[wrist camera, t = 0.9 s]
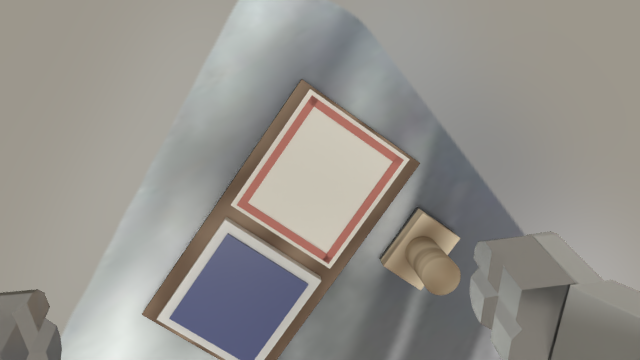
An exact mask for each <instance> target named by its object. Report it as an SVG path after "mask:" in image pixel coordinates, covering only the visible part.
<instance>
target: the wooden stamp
mask: <svg viewBox="0 0 640 360" xmlns="http://www.w3.org/2000/svg"><path fill="white" fill-rule="evenodd" d="M459 239H460V238H459V237H458V236H457V235H456V234H455V233H454V232H453V231H451V230H450V229H448V228H447V227H445V226H444V225H442V224H441V223H440V222H438V221H437V220H435V219H434V218H432V217H431V216H429V215H428V214H427V213H425V212H424V211H422V210H421V209H419V208H418V207H417V208H416V210H415V211H414V212H413V214H412V215H411V216H410V218H409V219H408V221H407V222H406V223H405V225H404V226H403V227H402V229H401V230H400V231H399V233H398V234H397V235H396V237H395V238H394V239H393V241H392V242H391V244H390V245H389V246H388V248H387V249H386V250H385V252H384V253H383V254H382V256H381V257H380V260H381V262H382V264H383V266H384V267H386V268H387V269H389V270H390V271H392V272H393V273H395V274H396V275H398V276H399V277H401V278H402V279H404V280H406V281H407V282H409V283H410V284H412V285H413V286H415V287H416V288H418V289H419V290H421V289H422V288H423V287H424V286H425V287H426V288H427V290H428V291H430V292H431V293H433V294H436V295H445V294H448V293H450V292H452V291H453V290H454V289H455V288H456V287H457V286H458V284H459V282H460V276H461V275H460V270H459V268H458V266H457V265H456V264H455V263H454V262H453V261H452V260H451V259H450V258H449V256H448V254H449V253H450V251H451V250H452V249H453V247H454V246H455V245H456V243H457V242H458V241H459Z"/></svg>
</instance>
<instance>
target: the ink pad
mask: <svg viewBox="0 0 640 360" xmlns="http://www.w3.org/2000/svg"><path fill="white" fill-rule="evenodd" d="M320 282H321V277H320V276H319V275H317V274H316V273H314V272H313V271H311V270H309V269H308V268H306V267H305V266H303V265H302V264H300V263H298V262H297V261H295V260H294V259H292V258H291V257H289V256H287V255H286V254H284V253H283V252H281V251H280V250H278V249H276V248H275V247H273V246H272V245H270V244H268V243H267V242H265V241H264V240H262V239H261V238H259V237H257V236H256V235H254V234H253V233H251V232H250V231H248V230H246V229H245V228H243V227H242V226H240V225H239V224H237V223H235V222H234V221H232V220H231V219H229V218H228V217H226V218H225V219H224V220H223V222H222V223H221V225H220V226H219V228H218V229H217V231H216V232H215V234H214V235H213V237H212V238H211V239H210V241H209V242H208V244H207V245H206V247H205V248H204V250H203V251H202V253H201V254H200V255H199V257H198V258H197V260H196V261H195V263H194V264H193V266H192V267H191V269H190V270H189V272H188V273H187V274H186V276H185V277H184V279H183V280H182V282H181V283H180V285H179V286H178V288H177V289H176V291H175V292H174V293H173V295H172V296H171V298H170V299H169V301H168V302H167V304H166V305H165V307H164V308H163V309H162V311H161V312H160V314H159V316H158V318H157V319H156V320H158V321H160V322H162V323H163V324H165V325H167V326H168V327H170V328H172V329H174V330H175V331H177V332H179V333H180V334H182V335H184V336H186V337H187V338H189V339H191V340H193V341H194V342H196V343H198V344H199V345H201V346H203V347H205V348H206V349H208V350H210V351H212V352H213V353H215V354H217V355H218V356H220V357H222V358H224V359H225V360H264V359H265V358H266V357H267V355H268V354H269V353H270V351H271V350H272V348H273V347H274V346H275V344H276V343H277V342H278V340H279V339H280V337H281V336H282V335H283V333H284V332H285V331H286V329H287V328H288V326H289V325H290V324H291V322H292V321H293V320H294V318H295V317H296V315H297V314H298V313H299V311H300V310H301V309H302V307H303V306H304V304H305V303H306V302H307V300H308V299H309V298H310V296H311V295H312V293H313V292H314V291H315V289H316V288H317V287H318V285H319V284H320Z"/></svg>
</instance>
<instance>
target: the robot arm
mask: <svg viewBox="0 0 640 360" xmlns="http://www.w3.org/2000/svg"><path fill="white" fill-rule="evenodd" d="M473 259H474V260H475V262H476V263H477V265H478V266H479V268H478V269H477V270H476V271H475V272H474V274H473V275H472V276H471V280H470V297H471V304H472V307H473V310H474V312H475V315H476V316H477V318H478V320H479V322H480V323H481V324H482V325H484V326H486V327H488V328H489V329H491V330H492V334H491V342H492V344H493V345H494V347H495V349H496V350H497V352H498V354H499V355H500V357H501V359H502V360H640V291H637V290H635V289H632V288H630V287H628V286H625V285H623V284H620V283H618V282H616V281H613V280H607V281H604V280H603V279H602V278H601V277H600V276H599V275H598V274H597V273H596V272H595V271H594V270H593V269H592V268H591V267H590V266H589V265H588V264H587V263H586V262H585V261H584V260H583V259H582V258H581V257H580V256H579V255H578V254H577V253H576V252H575V251H574V250H573V249H572V248H571V247H570V246H569V245H568V244H567V243H566V242H565V241H564V240H563V239H562V238H561V237H560V236H559V235H558V234H556V233H554V232H551V231H550V232H544V233H536V234H529V235H526V236H520V237H511V238H502V239H494V240H485V241H478V243H477V245H476V247H475V252H474V258H473ZM49 307H50V306H49V303H48V301H47V298H46V296H45V293H44V292H42V291H40V290H38V289H36V290H26V291H15V292H3V293H0V360H61V351H62V347H61V339H60V334H59V331H58V328H57V326H56V325H55V324H53V323H52V322H50V321H49V320H47V319H46V318H45V317H46V315H47V312H48V310H49Z"/></svg>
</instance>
